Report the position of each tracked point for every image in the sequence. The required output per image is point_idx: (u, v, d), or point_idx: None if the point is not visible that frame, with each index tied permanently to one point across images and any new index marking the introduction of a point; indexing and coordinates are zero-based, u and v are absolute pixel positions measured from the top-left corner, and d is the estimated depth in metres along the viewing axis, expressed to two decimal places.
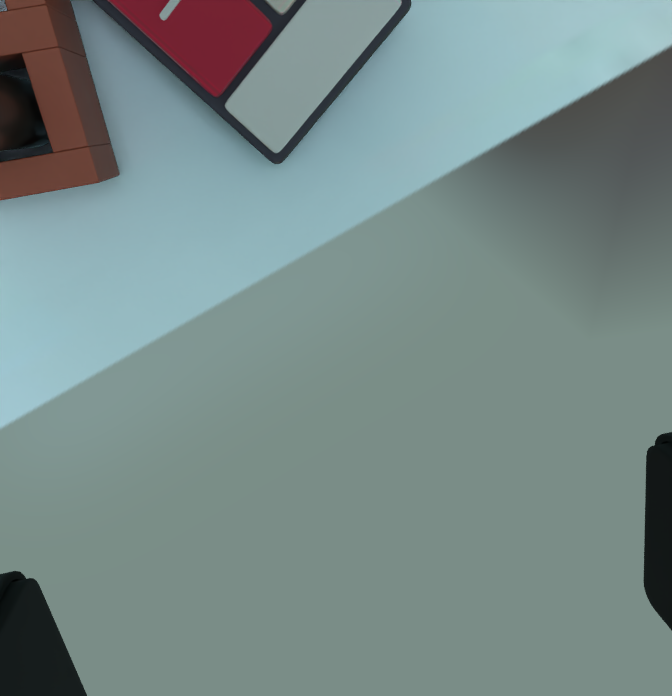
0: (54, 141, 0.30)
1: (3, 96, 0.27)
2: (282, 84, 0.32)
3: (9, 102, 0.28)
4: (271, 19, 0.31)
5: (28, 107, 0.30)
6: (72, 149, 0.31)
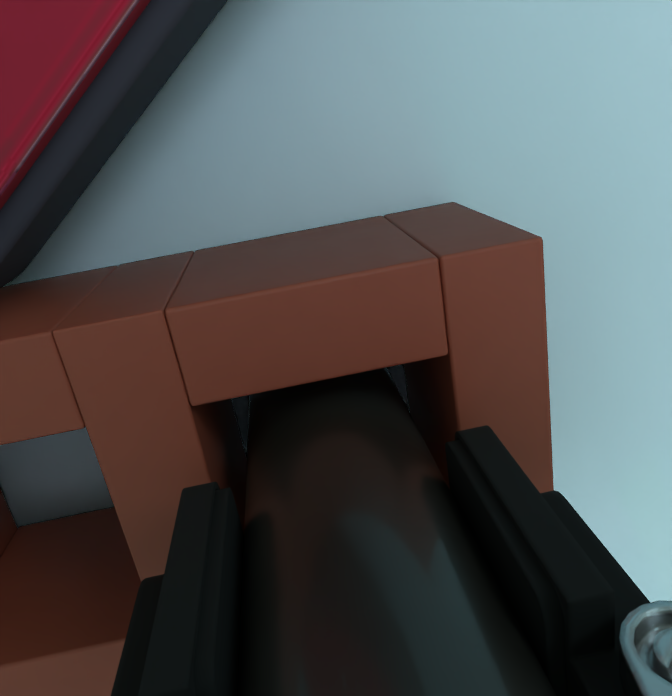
0: (420, 348, 0.11)
1: (322, 496, 0.08)
2: None
3: (334, 474, 0.09)
4: None
5: (329, 403, 0.11)
6: (445, 303, 0.10)
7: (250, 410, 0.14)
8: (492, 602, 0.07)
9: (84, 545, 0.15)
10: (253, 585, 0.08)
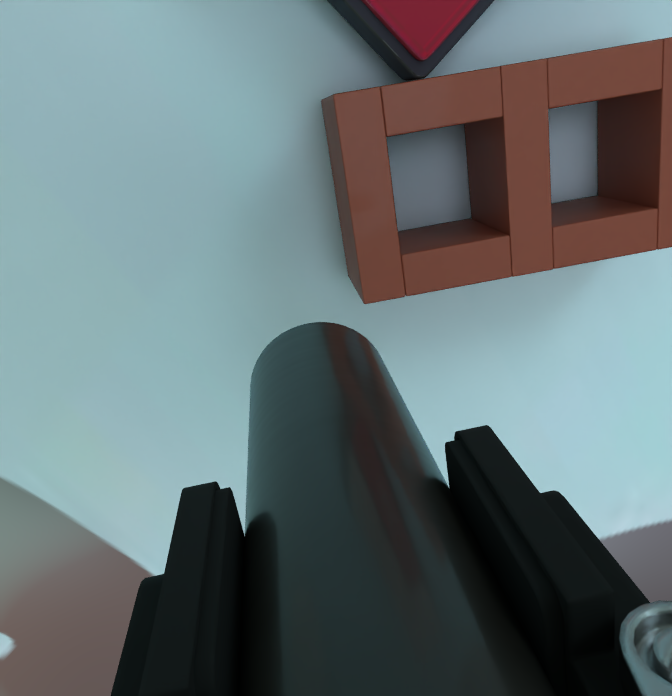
0: (650, 84, 0.24)
1: (323, 498, 0.08)
2: None
3: (336, 476, 0.09)
4: None
5: (330, 404, 0.11)
6: (663, 61, 0.23)
7: (250, 411, 0.14)
8: (493, 604, 0.07)
9: (432, 231, 0.28)
10: (254, 587, 0.08)
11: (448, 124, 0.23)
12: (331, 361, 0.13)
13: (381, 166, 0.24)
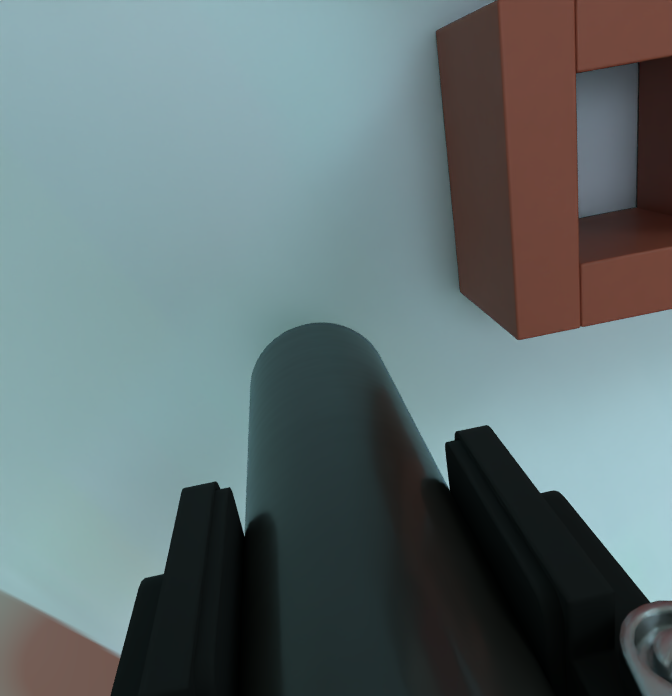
0: None
1: (322, 499, 0.08)
2: None
3: (335, 476, 0.09)
4: None
5: (329, 404, 0.11)
6: None
7: (250, 411, 0.14)
8: (492, 605, 0.07)
9: (593, 227, 0.19)
10: (254, 588, 0.08)
11: None
12: (331, 362, 0.13)
13: (564, 123, 0.15)
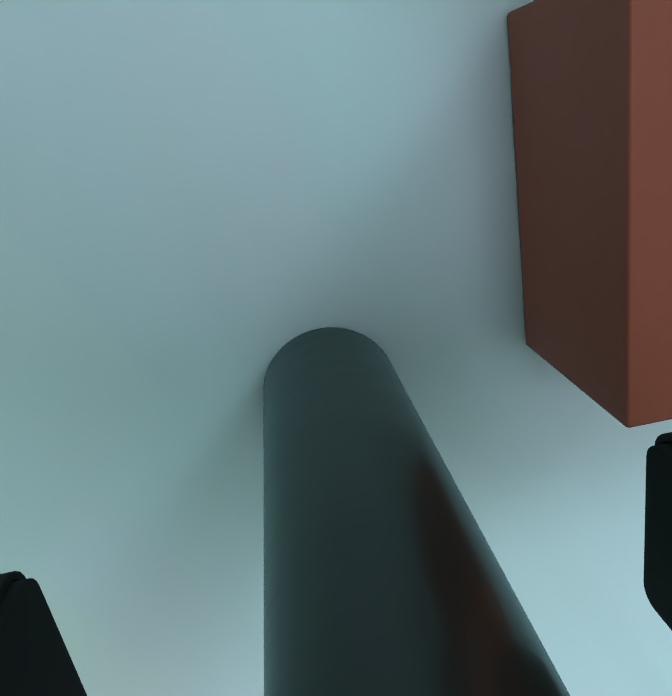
0: None
1: (341, 496, 0.09)
2: None
3: (352, 475, 0.09)
4: None
5: (345, 407, 0.11)
6: None
7: (265, 413, 0.14)
8: (502, 596, 0.07)
9: None
10: (276, 580, 0.08)
11: None
12: (344, 366, 0.13)
13: None
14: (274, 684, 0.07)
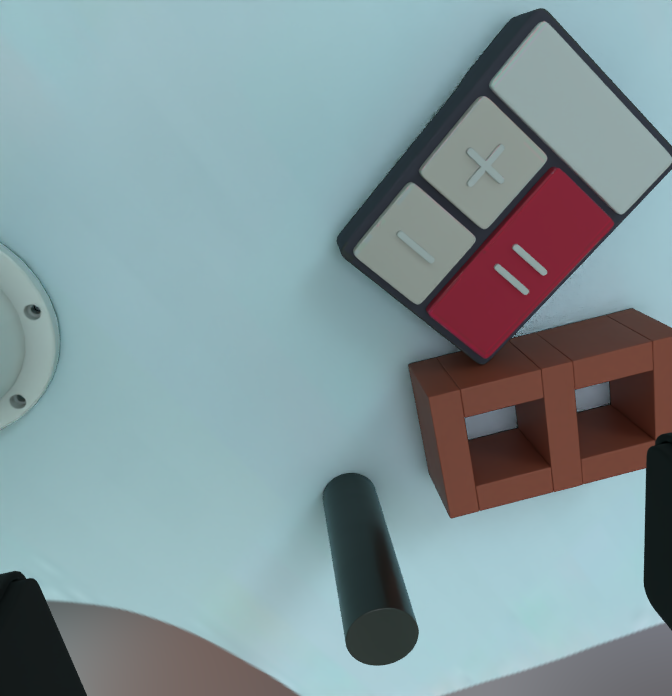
0: (645, 368, 0.34)
1: (355, 551, 0.33)
2: (609, 155, 0.31)
3: (358, 544, 0.33)
4: (546, 168, 0.31)
5: (355, 518, 0.35)
6: (653, 354, 0.34)
7: (326, 513, 0.38)
8: (394, 575, 0.31)
9: (491, 447, 0.39)
10: (339, 573, 0.33)
11: (506, 406, 0.34)
12: (354, 497, 0.37)
13: (461, 435, 0.34)
14: (342, 597, 0.31)
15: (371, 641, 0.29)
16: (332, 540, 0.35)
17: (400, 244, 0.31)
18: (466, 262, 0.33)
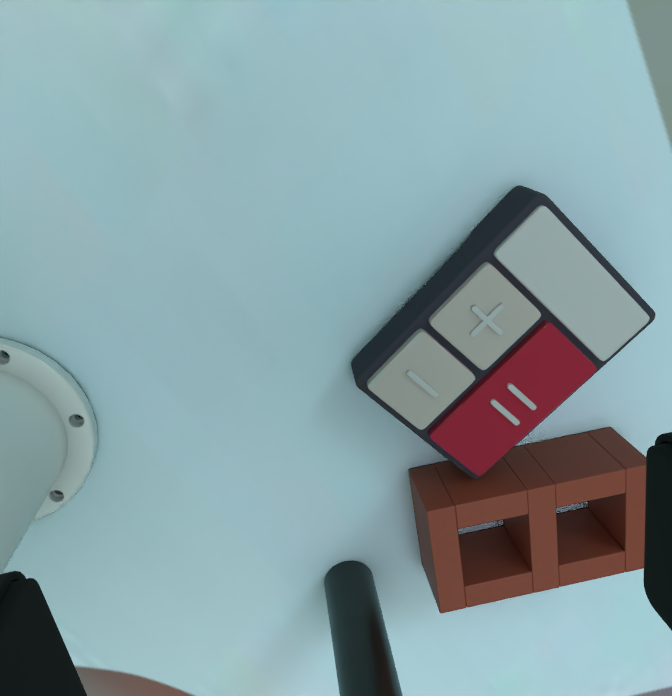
0: (618, 491, 0.38)
1: (355, 646, 0.37)
2: (595, 313, 0.35)
3: (358, 639, 0.37)
4: (539, 321, 0.35)
5: (355, 611, 0.40)
6: (626, 480, 0.38)
7: (328, 600, 0.42)
8: (390, 673, 0.35)
9: (479, 545, 0.43)
10: (341, 667, 0.37)
11: (495, 520, 0.38)
12: (354, 588, 0.41)
13: (454, 544, 0.38)
14: (343, 692, 0.35)
15: None
16: (334, 630, 0.39)
17: (409, 380, 0.36)
18: (465, 394, 0.37)
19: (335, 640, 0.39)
